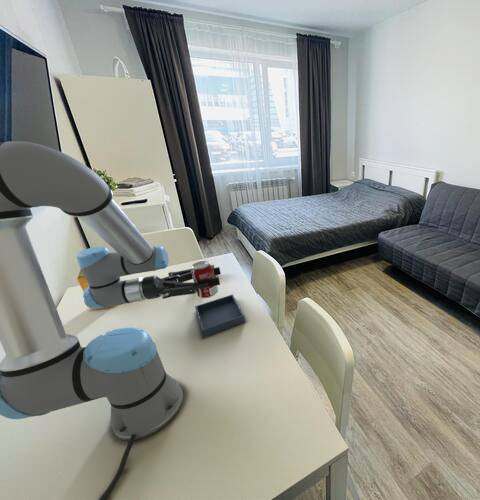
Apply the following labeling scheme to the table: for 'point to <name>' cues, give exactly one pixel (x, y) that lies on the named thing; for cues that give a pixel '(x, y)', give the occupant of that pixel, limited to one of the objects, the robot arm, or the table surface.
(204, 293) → the soda can
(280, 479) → the table surface
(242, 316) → the tray
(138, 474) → the table surface
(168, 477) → the table surface
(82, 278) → the orange juice
